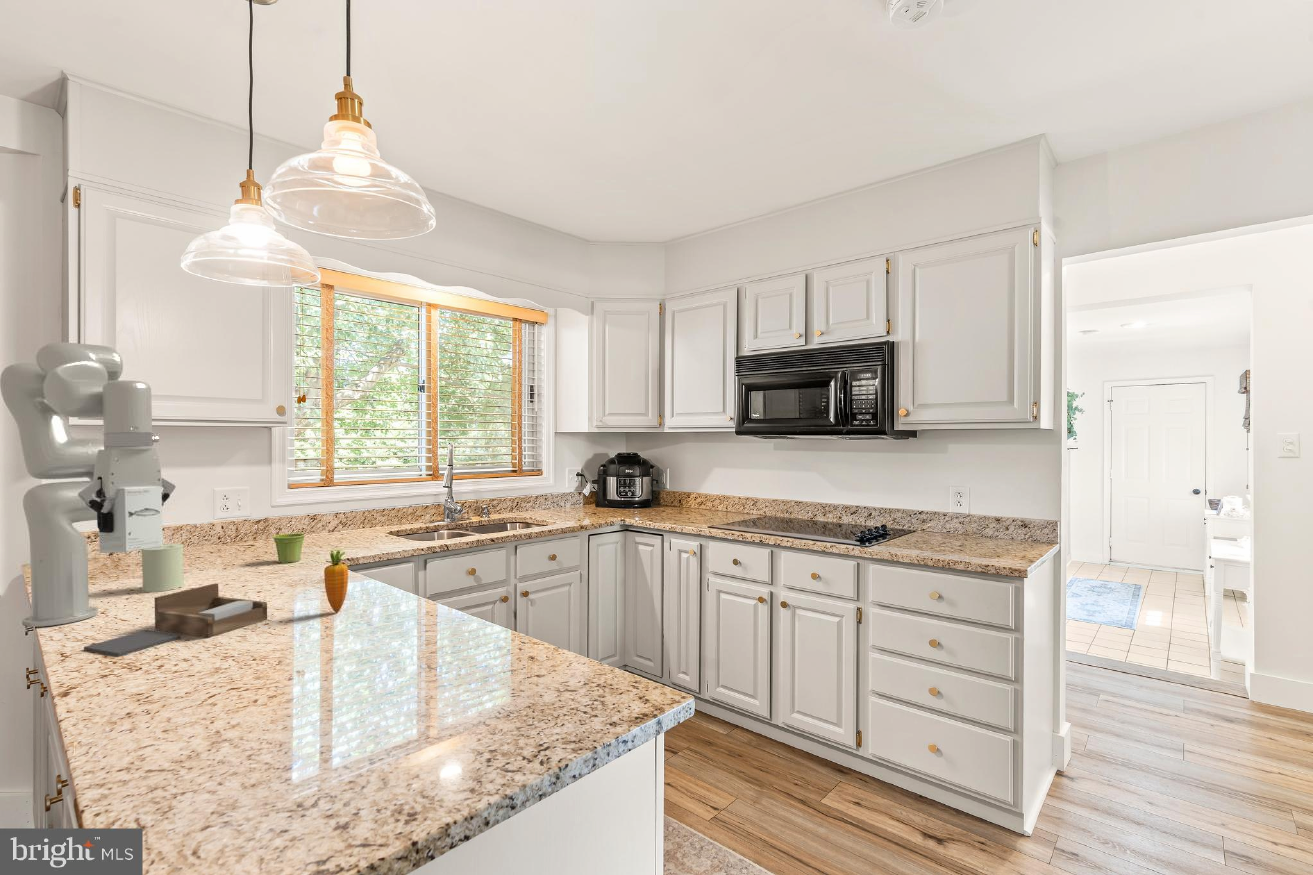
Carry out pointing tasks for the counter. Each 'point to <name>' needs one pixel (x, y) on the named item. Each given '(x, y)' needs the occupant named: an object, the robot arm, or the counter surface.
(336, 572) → the carrot
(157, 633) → the rubber mat
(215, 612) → the upper offcut
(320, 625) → the counter surface
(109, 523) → the robot arm
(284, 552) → the plant pot
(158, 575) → the can
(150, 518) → the supplement box
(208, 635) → the walnut rack
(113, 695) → the counter surface
